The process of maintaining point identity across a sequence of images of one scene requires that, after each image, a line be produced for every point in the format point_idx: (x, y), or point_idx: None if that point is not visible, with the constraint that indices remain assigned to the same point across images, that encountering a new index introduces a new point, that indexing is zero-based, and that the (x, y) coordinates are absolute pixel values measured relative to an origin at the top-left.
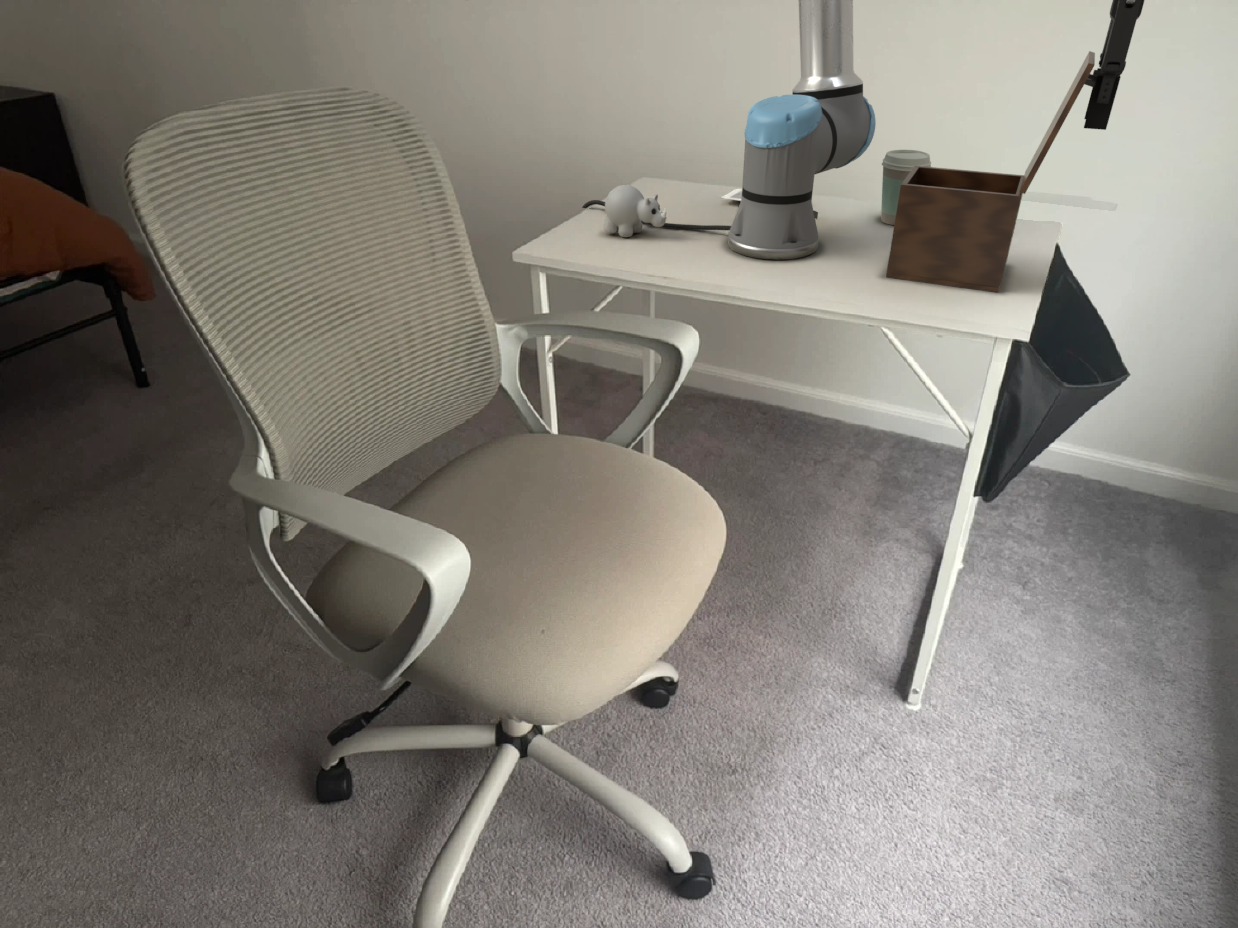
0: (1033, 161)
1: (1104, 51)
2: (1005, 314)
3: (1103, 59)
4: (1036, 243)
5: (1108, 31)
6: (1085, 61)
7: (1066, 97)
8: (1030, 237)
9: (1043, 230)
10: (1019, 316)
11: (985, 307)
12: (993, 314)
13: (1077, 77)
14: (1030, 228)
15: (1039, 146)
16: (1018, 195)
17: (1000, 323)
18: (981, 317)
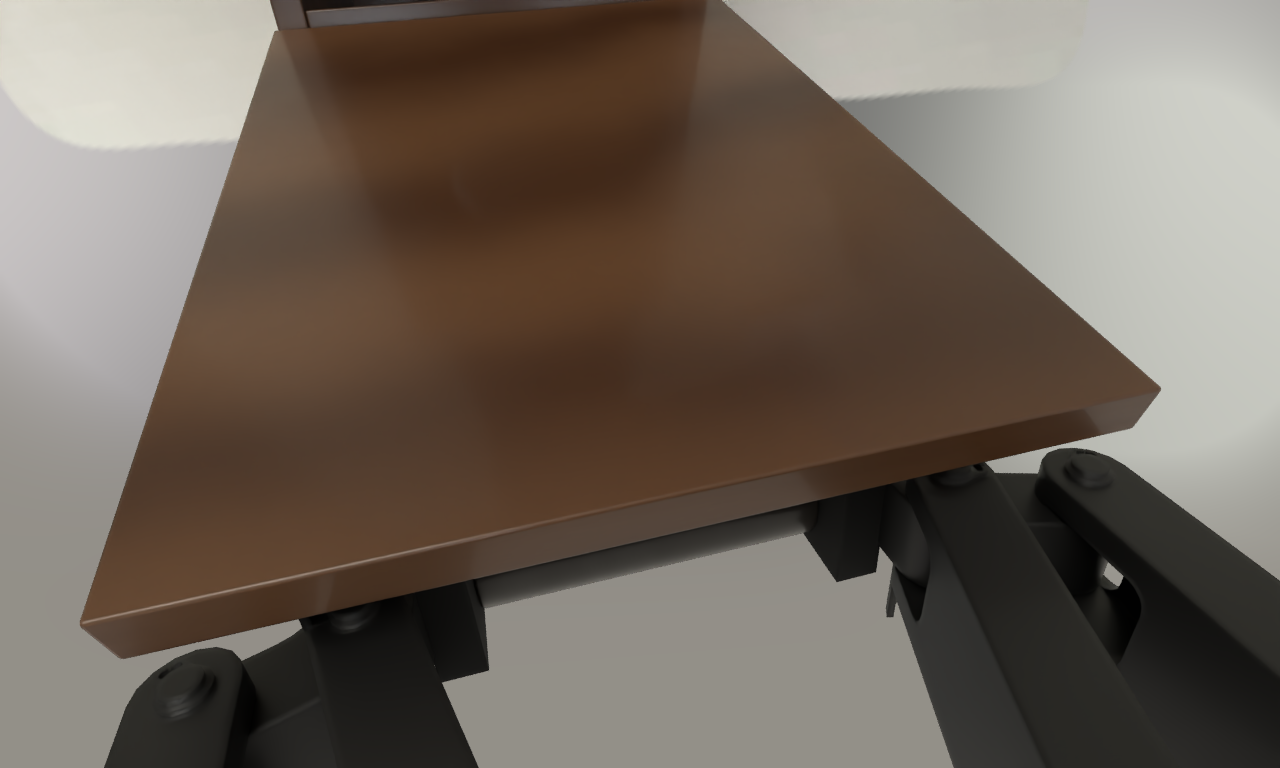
0: (481, 54)
1: (943, 563)
2: (157, 84)
3: (324, 707)
4: (871, 64)
5: (1253, 655)
6: (837, 400)
7: (691, 213)
8: (924, 36)
9: (999, 64)
10: (174, 128)
11: (171, 9)
12: (125, 47)
13: (693, 322)
14: (1012, 22)
15: (688, 52)
16: (287, 28)
17: (61, 84)
18: (62, 13)
